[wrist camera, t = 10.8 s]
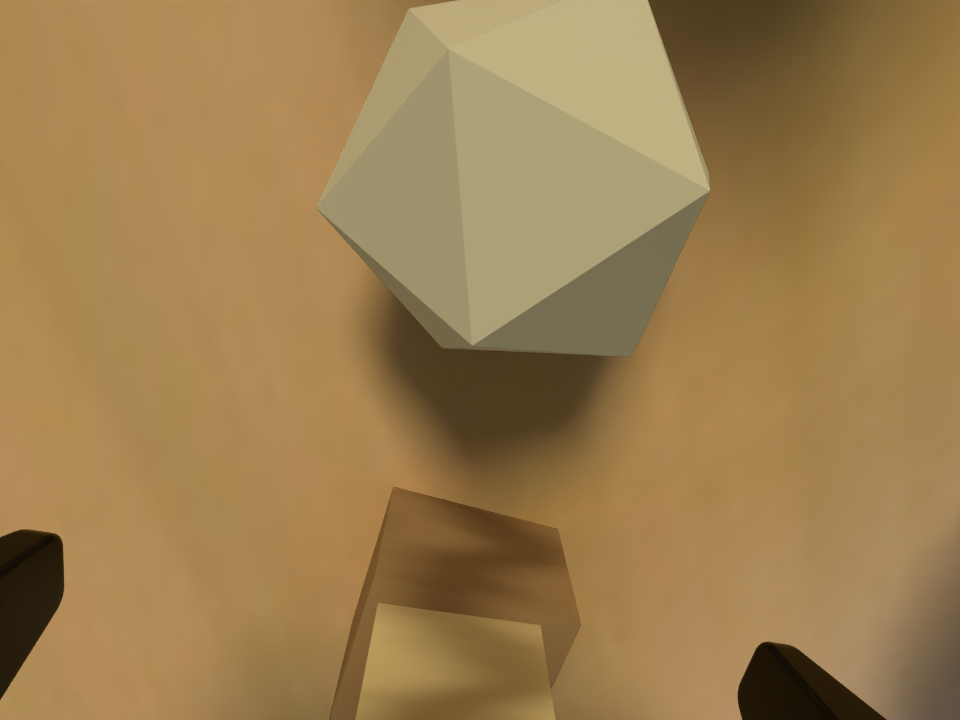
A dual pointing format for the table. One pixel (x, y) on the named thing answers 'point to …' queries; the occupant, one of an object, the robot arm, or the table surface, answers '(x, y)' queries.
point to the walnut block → (460, 578)
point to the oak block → (453, 668)
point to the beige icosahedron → (523, 174)
